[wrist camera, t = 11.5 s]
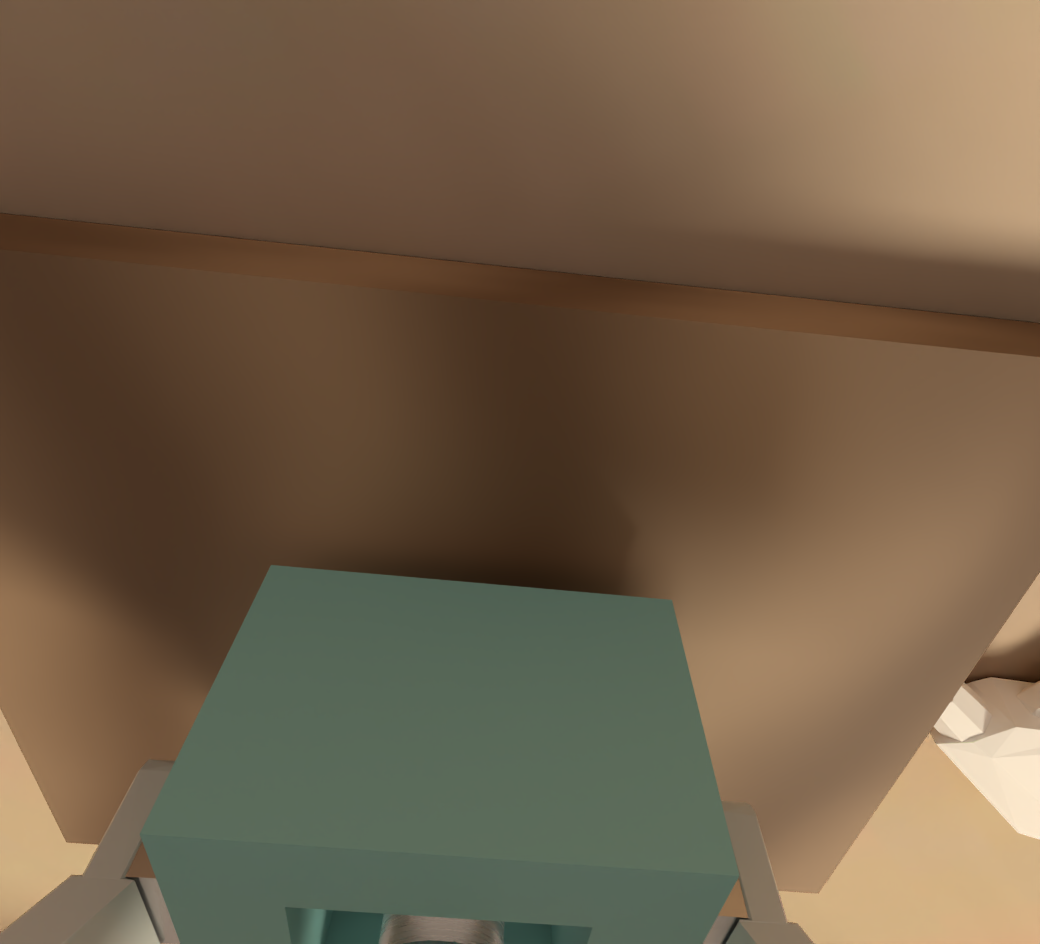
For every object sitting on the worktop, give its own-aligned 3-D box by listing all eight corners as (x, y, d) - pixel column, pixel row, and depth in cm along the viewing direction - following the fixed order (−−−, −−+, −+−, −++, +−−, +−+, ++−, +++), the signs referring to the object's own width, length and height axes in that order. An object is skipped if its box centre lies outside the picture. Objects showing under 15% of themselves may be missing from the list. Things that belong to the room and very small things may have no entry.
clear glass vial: (427, 675, 13) (363, 1070, 8) (429, 617, 12) (359, 1019, 7) (508, 682, 13) (495, 1078, 8) (517, 624, 12) (506, 1028, 7)
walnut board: (101, 782, 17) (66, 842, 16) (-137, 198, 9) (-238, 224, 8) (798, 832, 18) (818, 893, 17) (1098, 329, 10) (1178, 371, 9)
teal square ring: (301, 797, 13) (223, 1056, 10) (271, 564, 10) (139, 834, 7) (604, 820, 14) (628, 1079, 10) (672, 599, 10) (739, 875, 7)
